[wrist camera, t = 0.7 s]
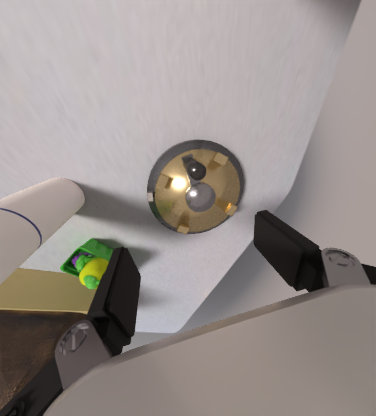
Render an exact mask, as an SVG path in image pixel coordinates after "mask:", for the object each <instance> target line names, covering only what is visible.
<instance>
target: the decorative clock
mask: <svg viewBox="0 0 376 416" xmlns="http://www.w3.org/2000/svg"><path fill="white" fill-rule="evenodd" d="M96 290H97V289H88V288H87V287H86V286H84V285H83V284H82V283H81V282H80V279H79V277H76V276H74V275H71V274H69V273H60V272H50V271H41V270H32V269H23V268H17V269H16V270H15V271H14V272H13V273H12V274H11V275H10V276H9V277H8V278H7V279H6V280H5V281H4V282H3V283H2V284H0V410H1V409H2V408H3V407H4V406H5V405H6V404H7V403H8V402H9V401H10V400H11V399H12V398H13V397H14V396H15V395H16V394H17V393H18V392H19V391H20V390H21V389H22V388H23V387H24V386H25V385H26V384H27V383H28V382H29V381H30V380H31V379H32V378H33V377H34V376H35V375H36V374H37V373H38V372H39V371H40V370H41V369H42V368H43V367H44V366H45V365H46V364H47V363H48V362H49V361H50V360H51V359H52V358H53V357H54V356H55V349H56V346H57V343H58V342H59V340H60V338H61V337H62V335H63V334H64V333H65V332H66V331H67V330H68V329H69V328H70V327H71V326H72V325H73V324H75V323H76V322H78V321H80V320H85V318H86V315H87V313H88V310H89V308H90V305H91V303H92V300H93V298H94V295H95V292H96Z"/></svg>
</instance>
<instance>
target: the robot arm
mask: <svg viewBox="0 0 376 416" xmlns="http://www.w3.org/2000/svg"><path fill="white" fill-rule="evenodd" d="M254 245H255V247H256V248H257V249H258V250H259V252H260V253H261V254H262V255H263V256H264V257H265V258H266V260H267V261H268V262H269V263H270V264H271V265H272V266H273V267H274V269H275V270H276V271H277V272H278V273H279V274H280V276H282V278H283V279H284V280H285V281H286V282H287V284H288V285H290V286H291V287H292V286H293V288H294V289H295V290H296V291H300V290H303V289H306V290H307V291H308V292H309V293H306V294H302V295H299V296H296V297H292V298H289V299H286V300H283V301H280V302H276V303H273V304H270V305H267V306H264V307H260V308H257V309H254V310H251V311H248V312H245V313H242V314H238V315H236V316H232V317H229V318H226V319H223V320H220V321H217V322H213V323H210V324H207V325H204V326H201V327H198V328H195V329H192V330H189V331H186V332H182V333H179V334H176V335H173V336H170V337H167V338H164V339H161V340H158V341H155V342H152V343H149V344H146V345H144V346H141V347H138V348H135V349H132V350H129V351H127V352H124V353H122V354H121V352H122V348H123V346H126V345H129V344H130V342H131V337H132V336H133V335H134V332H135V324H136V315H137V306H138V298H139V289H140V280H141V276H140V273H139V271H138V269H137V267H136V265H135V263H134V261H133V259H132V257H131V255H130V253H129V251H128V249H127V248H124V247H120V248H116V249H114V250H113V252H112V255H111V258H110V260H109V263H108V265H107V268H106V271H105V272H104V273H103V275H102V277H101V280H100V282H99V285H98V287H97V290H96V292H95V295H94V298H93V300H92V303H91V305H90V308H89V310H88V313H87V315H86V318H85V320H80V321H78V322H76V323H75V324H73V325H72V326H71V327H70V328H69V329H68V330H67V331H66V332H65V333H64V334H63V335H62V337H61V338H60V340H59V342H58V343H57V346H56V349H55V356H54V357H53V358H52V359H51V360H50V361H49V362H48V363H47V364H46V365H45V366H44V367H43V368H42V369H41V370H40V371H39V372H38V373H37V374H36V375H35V376H34V377H33V378H32V379H31V380H30V381H29V382H28V383H27V384H26V385H25V386H24V387H23V388H22V389H21V390H20V391H19V392H18V393H17V394H16V395H15V396H14V397H13V398H12V399H11V400H10V401H9V402H8V403H7V404H6V405H5V406H4V407H3V408H2V409H1V410H0V416H376V267H373V266H369V265H365V264H361V263H360V261H359V260H358V259H357V258H356V257H355V256H354V255H352V254H350V253H349V252H347V251H344V250H341V249H337V248H326V249H323V250H320V249H319V246H318V245H316V244H315V243H313V242H312V241H311V240H309V239H308V238H306V237H305V236H303V235H302V234H300V233H299V232H297V231H296V230H294V229H293V228H292V227H290V226H289V225H287V224H286V223H284V222H283V221H281V220H280V219H278V218H277V217H276V216H274V215H273V214H271V213H270V212H268V211H267V210H263V211H259V212H257V214H256V215H255V225H254Z"/></svg>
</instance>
